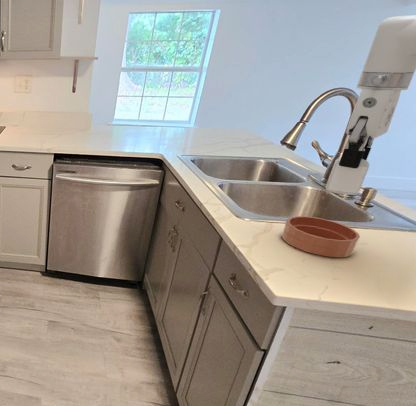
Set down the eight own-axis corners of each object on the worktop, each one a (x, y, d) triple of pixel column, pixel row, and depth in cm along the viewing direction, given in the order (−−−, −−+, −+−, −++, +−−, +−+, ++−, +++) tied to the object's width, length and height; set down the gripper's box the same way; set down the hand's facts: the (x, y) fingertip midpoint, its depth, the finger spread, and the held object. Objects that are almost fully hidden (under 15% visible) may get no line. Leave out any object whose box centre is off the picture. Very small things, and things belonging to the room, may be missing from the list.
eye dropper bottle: (350, 197, 83) (371, 146, 78) (321, 189, 88) (338, 140, 83) (361, 194, 84) (381, 143, 80) (331, 186, 89) (349, 138, 85)
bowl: (359, 247, 95) (366, 230, 93) (341, 264, 88) (349, 247, 86) (292, 227, 106) (298, 211, 104) (272, 241, 99) (278, 225, 97)
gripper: (398, 85, 69) (362, 176, 76) (420, 79, 77) (385, 162, 85) (346, 83, 75) (316, 168, 82) (371, 77, 83) (342, 155, 90)
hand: (351, 164), depth 83 cm, fingers closed on eye dropper bottle, 3 cm apart
